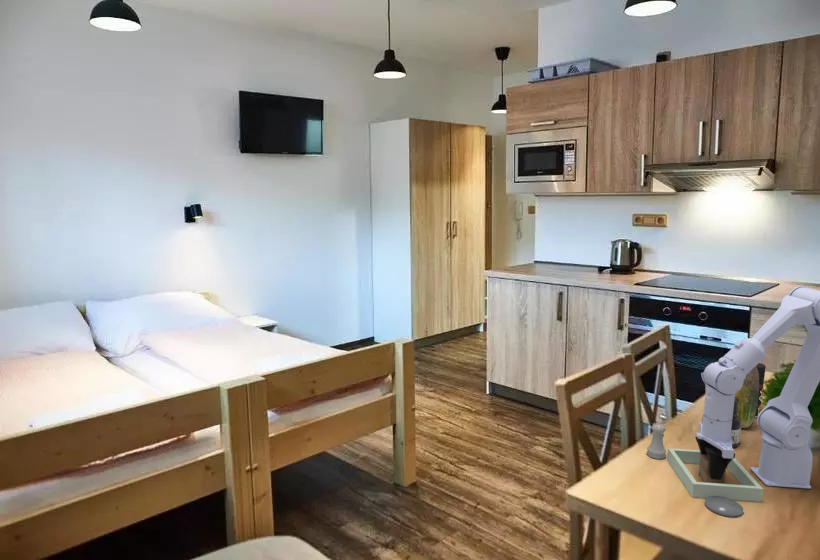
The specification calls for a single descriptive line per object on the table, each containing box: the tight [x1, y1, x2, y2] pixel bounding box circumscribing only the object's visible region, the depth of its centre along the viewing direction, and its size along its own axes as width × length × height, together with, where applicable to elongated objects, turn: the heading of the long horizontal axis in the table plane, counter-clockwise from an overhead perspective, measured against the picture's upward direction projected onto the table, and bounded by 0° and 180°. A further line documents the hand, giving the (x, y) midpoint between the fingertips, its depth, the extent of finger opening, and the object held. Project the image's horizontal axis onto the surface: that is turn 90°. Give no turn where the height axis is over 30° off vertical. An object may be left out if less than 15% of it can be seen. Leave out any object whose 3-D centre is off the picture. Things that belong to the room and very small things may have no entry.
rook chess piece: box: [646, 422, 667, 460], centre depth 142 cm, size 4×4×8 cm
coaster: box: [704, 496, 744, 518], centre depth 119 cm, size 7×7×1 cm
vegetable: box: [735, 366, 759, 429], centre depth 159 cm, size 6×6×20 cm
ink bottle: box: [701, 397, 742, 448], centre depth 150 cm, size 10×9×12 cm
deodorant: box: [755, 362, 767, 416], centre depth 168 cm, size 6×6×15 cm
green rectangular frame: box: [666, 447, 764, 503], centre depth 131 cm, size 14×17×3 cm
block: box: [698, 454, 727, 484], centre depth 130 cm, size 4×4×5 cm
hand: (711, 473), depth 131 cm, fingers closed on block, 4 cm apart
